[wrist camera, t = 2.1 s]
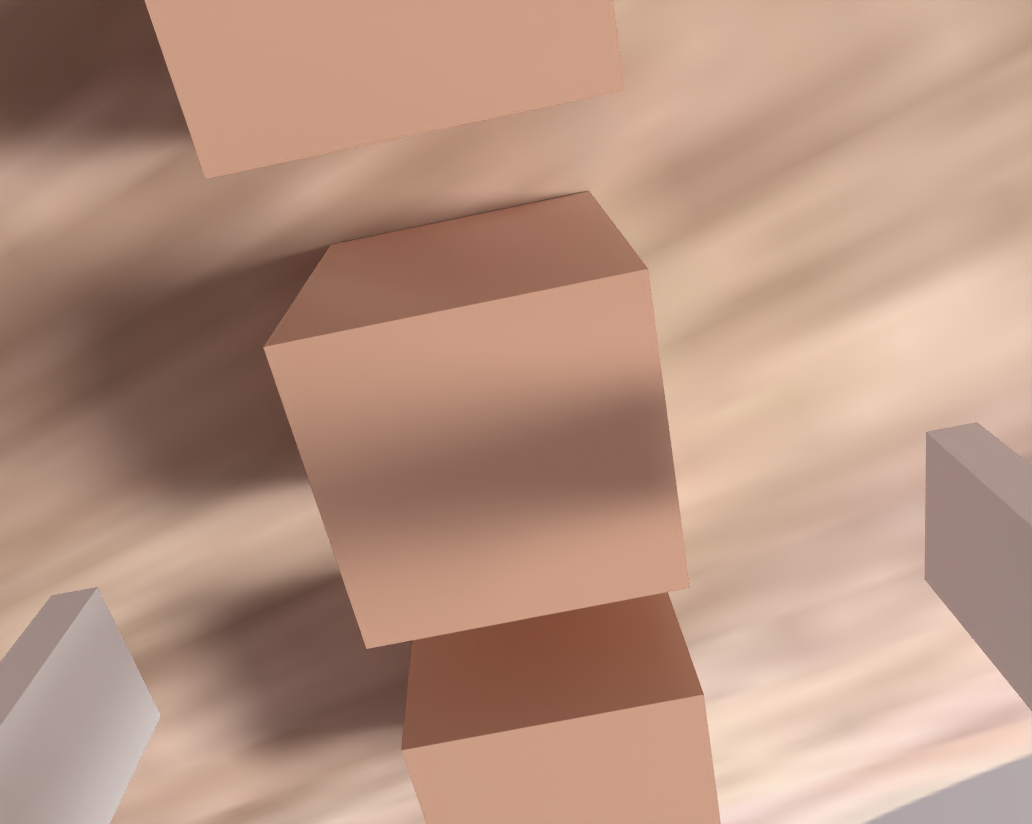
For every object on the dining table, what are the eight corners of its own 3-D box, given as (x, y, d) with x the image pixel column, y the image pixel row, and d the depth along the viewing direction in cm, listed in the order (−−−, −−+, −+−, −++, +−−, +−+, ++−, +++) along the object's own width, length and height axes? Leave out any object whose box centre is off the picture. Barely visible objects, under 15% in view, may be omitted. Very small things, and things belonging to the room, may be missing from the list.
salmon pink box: (467, 717, 29) (466, 942, 22) (420, 552, 26) (401, 750, 19) (665, 680, 29) (730, 896, 22) (638, 510, 26) (703, 694, 19)
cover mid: (396, 470, 25) (366, 649, 18) (330, 244, 22) (263, 346, 15) (625, 426, 25) (689, 587, 18) (589, 190, 22) (648, 269, 15)
